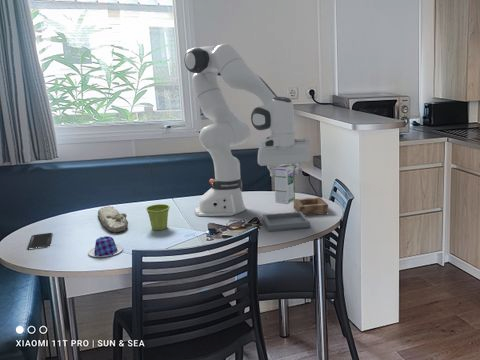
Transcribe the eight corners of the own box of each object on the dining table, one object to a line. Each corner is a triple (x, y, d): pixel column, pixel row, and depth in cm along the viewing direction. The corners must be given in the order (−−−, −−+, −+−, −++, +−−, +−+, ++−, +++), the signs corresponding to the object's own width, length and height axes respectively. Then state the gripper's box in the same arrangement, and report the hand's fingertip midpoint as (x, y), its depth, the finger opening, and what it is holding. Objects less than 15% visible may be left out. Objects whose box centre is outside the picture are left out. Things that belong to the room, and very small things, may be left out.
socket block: (300, 216, 203) (299, 206, 202) (293, 208, 215) (293, 199, 214) (328, 213, 204) (328, 204, 203) (320, 205, 216) (320, 197, 215)
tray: (268, 231, 186) (268, 225, 185) (262, 220, 200) (262, 214, 199) (309, 228, 188) (309, 221, 187) (301, 217, 201) (301, 211, 201)
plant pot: (176, 226, 198) (174, 205, 196) (160, 233, 190) (158, 212, 188) (159, 223, 203) (157, 203, 201) (142, 229, 195) (140, 209, 193)
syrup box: (288, 204, 187) (287, 167, 184) (274, 202, 191) (274, 166, 188) (295, 201, 192) (294, 165, 189) (282, 199, 195) (281, 163, 192)
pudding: (110, 244, 182) (109, 230, 180) (129, 251, 174) (128, 237, 172) (81, 254, 173) (80, 240, 172) (100, 261, 165) (98, 247, 164)
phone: (27, 248, 179) (31, 235, 193) (27, 250, 179) (32, 237, 193) (49, 244, 181) (53, 232, 195) (50, 247, 181) (53, 235, 195)
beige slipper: (116, 213, 226) (95, 217, 222) (114, 202, 225) (92, 206, 221) (133, 230, 194) (108, 236, 190) (131, 217, 193) (106, 223, 189)
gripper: (307, 137, 190) (308, 171, 193) (256, 140, 188) (257, 175, 191) (312, 139, 184) (312, 175, 187) (258, 142, 182) (259, 178, 185)
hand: (284, 175), depth 189 cm, fingers closed on syrup box, 8 cm apart
